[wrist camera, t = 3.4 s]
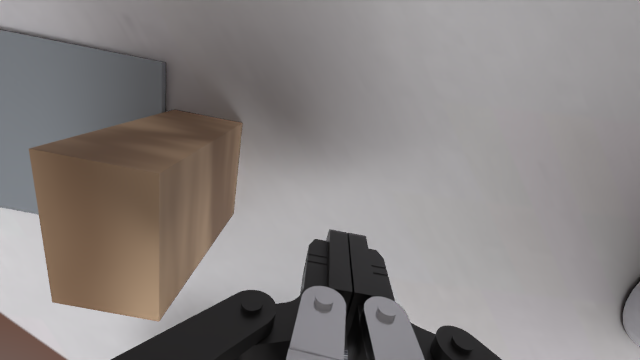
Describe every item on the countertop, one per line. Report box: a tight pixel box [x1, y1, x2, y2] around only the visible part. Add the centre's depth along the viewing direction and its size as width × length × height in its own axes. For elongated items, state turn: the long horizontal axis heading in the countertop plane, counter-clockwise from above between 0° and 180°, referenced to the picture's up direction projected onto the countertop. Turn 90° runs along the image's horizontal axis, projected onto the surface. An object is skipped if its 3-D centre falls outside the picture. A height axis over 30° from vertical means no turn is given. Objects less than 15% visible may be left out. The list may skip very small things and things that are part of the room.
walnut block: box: [29, 110, 242, 321], centre depth 15 cm, size 4×6×9 cm, turn 169°
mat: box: [0, 29, 166, 214], centre depth 18 cm, size 11×11×1 cm
